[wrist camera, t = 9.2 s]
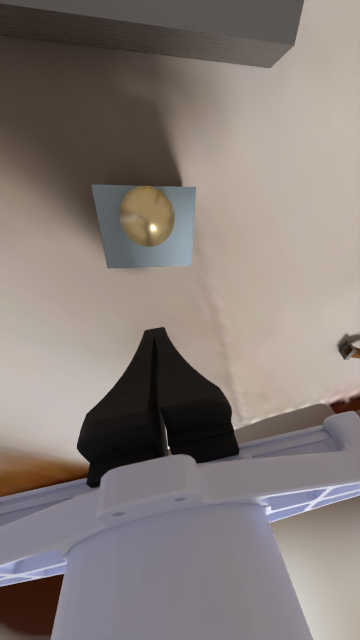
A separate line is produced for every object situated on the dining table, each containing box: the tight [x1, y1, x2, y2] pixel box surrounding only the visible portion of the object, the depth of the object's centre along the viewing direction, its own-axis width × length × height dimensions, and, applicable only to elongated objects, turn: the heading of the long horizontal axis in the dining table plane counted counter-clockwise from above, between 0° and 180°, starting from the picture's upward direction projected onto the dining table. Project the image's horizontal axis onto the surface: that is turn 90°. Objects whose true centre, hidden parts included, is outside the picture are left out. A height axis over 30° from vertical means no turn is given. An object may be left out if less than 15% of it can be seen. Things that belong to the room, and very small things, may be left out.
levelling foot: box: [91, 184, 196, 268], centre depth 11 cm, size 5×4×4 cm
